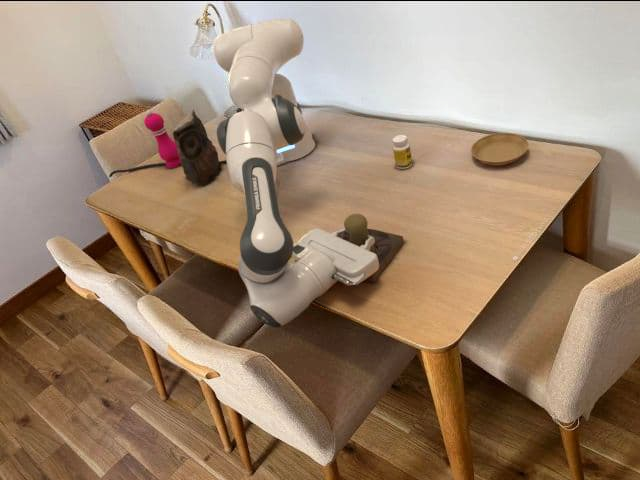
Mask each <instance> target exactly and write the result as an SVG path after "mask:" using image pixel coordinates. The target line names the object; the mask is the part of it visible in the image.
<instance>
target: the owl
mask: <svg viewBox="0 0 640 480" xmlns="http://www.w3.org/2000/svg"><path fill="white" fill-rule="evenodd" d="M172 137H173V141H174V142H175V143H176V146H177V150H178V155H179V158H180V161H181V164H182V165H181V167H182V171H183V174H184V175H185V176H186V178H187V179H189V180H190V181H192V182H193V183H194V184H197V186H199V187H205V186H208V185H209V184H211V183H213V182H214V181H216V179H217V177H218V176H219V173H220V172H221V171H222V166H221V164H219V161H220V160H219V153H218V151H217V148H216V146H215V145H214V144H213V142H212V140H210V138H209V137H208V133H207V130H206V127H205V126H204V124H203V122H202V120H201V119H200V118H199V117H198V115H197V114H196V112H195V110H194V109H192V110H191V111H190V112H189V113H187V115H186V116H184V117H183V118H182V119H181V120H180V122H178V123H177V125H176V126H175V128H174V130H173V131H172Z"/></svg>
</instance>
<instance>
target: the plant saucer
mask: <svg viewBox="0 0 640 480" xmlns="http://www.w3.org/2000/svg"><path fill="white" fill-rule="evenodd" d="M529 146H530V144H529V142H528V140H527V138H525V137H524V136H522V135H520V134H517V133H513V132H498V133H492V134H488V135H485V136H483V137H481V138H479V139H478V140H476V141H475V142H473V144H472V146H471V149H470V153H471V154H472V156H473V157H474V158H475V159H476V160H478V161H479V162H481V163H483V164H485V165H488V166H495V167H497V166H505V165H509V164H512V163H514V162H516V161H518V159H520V158H521V157H523V156H524V155H525V153H526V152H527V151H528V150H529Z"/></svg>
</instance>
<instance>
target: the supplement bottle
mask: <svg viewBox="0 0 640 480" xmlns="http://www.w3.org/2000/svg"><path fill="white" fill-rule="evenodd" d="M392 144H393V145H392V152H393V156H394V163H395V166H396V168H397V169H399V170H407V169H408V168H410V167H412V165H413V158H412V151H411V145H410V143H409V142H408V136H407V135H406V134H398V135H395V136H394V137H393V138H392Z"/></svg>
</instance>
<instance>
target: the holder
mask: <svg viewBox="0 0 640 480" xmlns="http://www.w3.org/2000/svg"><path fill="white" fill-rule="evenodd" d="M367 231H368V233H369V235H370V236H372V237H374V239H375V243H374V246H375V248H377V250H376V251H377V252H376V253H375V254H376V255H377V257H378V261H379V269H378V270H377V271H376V272H375V273H373V274H372V275H371V276H369V277H368V278H367V279H365V280H364V281H367V282H371V283H375V282H376V281H377V279H379V277H380V276H381V274H382V273H383V272H384V270H385V268H387V267H388V265H389V264H390V262H391V261H392V260H393V259H394V257H395V255H396V254H397V253H398V251H399V250H400V249H401V247H402V246H403V245H404V243H405V241H404V236H403V235H400V234H395V233H390V232H386V231H383V230H378V229H374V228H368V227H367ZM341 239H343V240H346V241H348V242H350V239H349V237H344V238H341Z"/></svg>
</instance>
